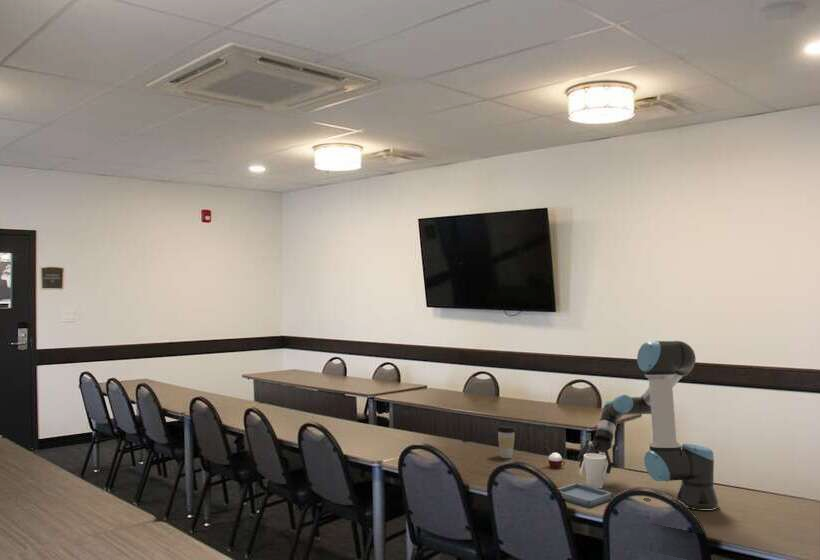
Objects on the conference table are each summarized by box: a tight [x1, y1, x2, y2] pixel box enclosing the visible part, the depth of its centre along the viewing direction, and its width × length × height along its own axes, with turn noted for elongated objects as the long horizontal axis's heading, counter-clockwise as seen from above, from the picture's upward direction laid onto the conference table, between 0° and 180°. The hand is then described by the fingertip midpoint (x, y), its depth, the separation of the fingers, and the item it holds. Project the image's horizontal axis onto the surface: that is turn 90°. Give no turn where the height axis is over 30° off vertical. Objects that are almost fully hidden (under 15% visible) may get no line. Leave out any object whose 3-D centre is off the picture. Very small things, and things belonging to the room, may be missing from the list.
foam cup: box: [584, 452, 607, 489], centre depth 293 cm, size 10×9×13 cm
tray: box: [557, 482, 614, 508], centre depth 278 cm, size 18×16×2 cm
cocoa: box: [544, 439, 566, 469], centre depth 324 cm, size 10×6×12 cm, turn 40°
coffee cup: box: [496, 424, 517, 459], centre depth 342 cm, size 9×9×15 cm
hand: (592, 477), depth 291 cm, fingers closed on foam cup, 9 cm apart
